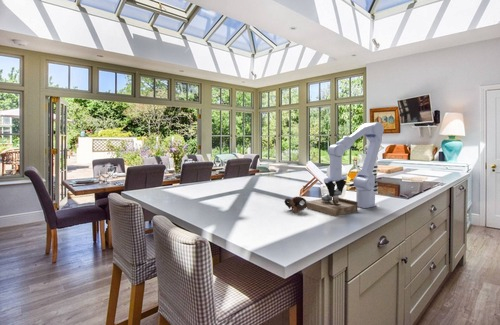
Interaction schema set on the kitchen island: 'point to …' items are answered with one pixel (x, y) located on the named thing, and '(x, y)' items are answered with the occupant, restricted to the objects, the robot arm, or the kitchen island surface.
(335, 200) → the stepped metal shaft
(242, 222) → the kitchen island surface
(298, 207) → the brown animal figurine
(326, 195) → the seated shaft
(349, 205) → the block
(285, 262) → the kitchen island surface
